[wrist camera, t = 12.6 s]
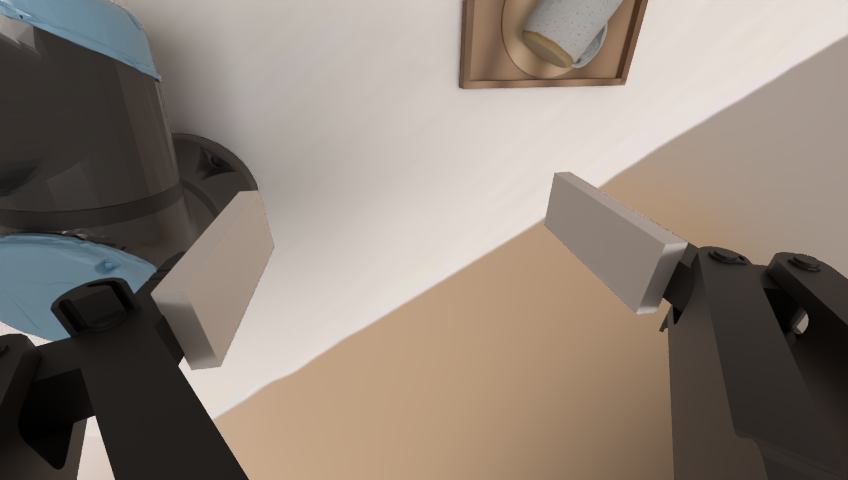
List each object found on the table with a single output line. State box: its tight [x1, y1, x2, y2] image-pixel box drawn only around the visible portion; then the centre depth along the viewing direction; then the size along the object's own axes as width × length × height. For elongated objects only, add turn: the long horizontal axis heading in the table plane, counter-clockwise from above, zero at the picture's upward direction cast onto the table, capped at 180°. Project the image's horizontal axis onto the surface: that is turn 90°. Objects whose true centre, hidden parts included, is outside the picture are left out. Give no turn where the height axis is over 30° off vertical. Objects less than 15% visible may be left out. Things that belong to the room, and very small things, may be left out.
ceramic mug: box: [522, 0, 623, 68], centre depth 36 cm, size 11×8×8 cm
